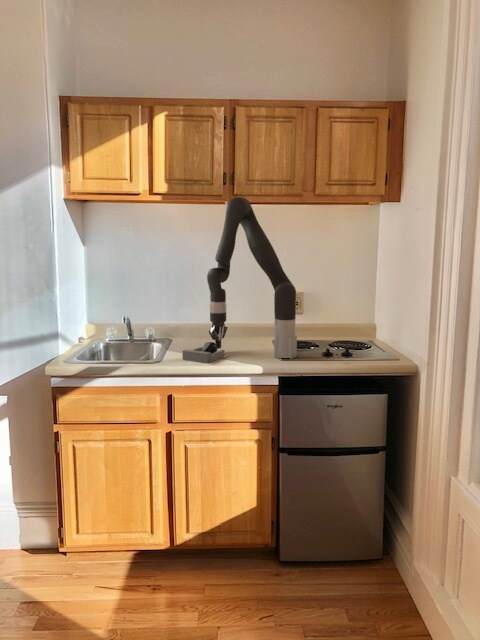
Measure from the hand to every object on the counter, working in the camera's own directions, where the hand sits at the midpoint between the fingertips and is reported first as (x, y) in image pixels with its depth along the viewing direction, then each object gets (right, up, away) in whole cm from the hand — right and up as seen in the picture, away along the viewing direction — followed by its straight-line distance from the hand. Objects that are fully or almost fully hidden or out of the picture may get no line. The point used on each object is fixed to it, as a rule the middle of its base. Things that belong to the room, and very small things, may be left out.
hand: (218, 348), depth 236 cm
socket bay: (-6, -4, -10) cm, 12 cm away
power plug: (-5, -4, -8) cm, 10 cm away
